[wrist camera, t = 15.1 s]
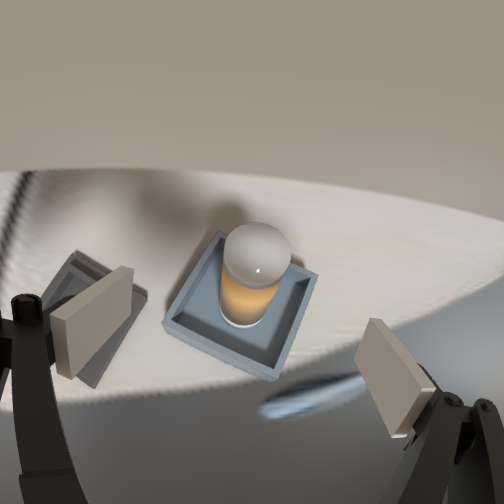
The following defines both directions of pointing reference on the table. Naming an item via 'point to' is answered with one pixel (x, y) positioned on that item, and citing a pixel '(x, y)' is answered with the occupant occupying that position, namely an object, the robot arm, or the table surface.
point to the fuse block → (72, 283)
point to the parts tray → (228, 338)
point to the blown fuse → (251, 273)
